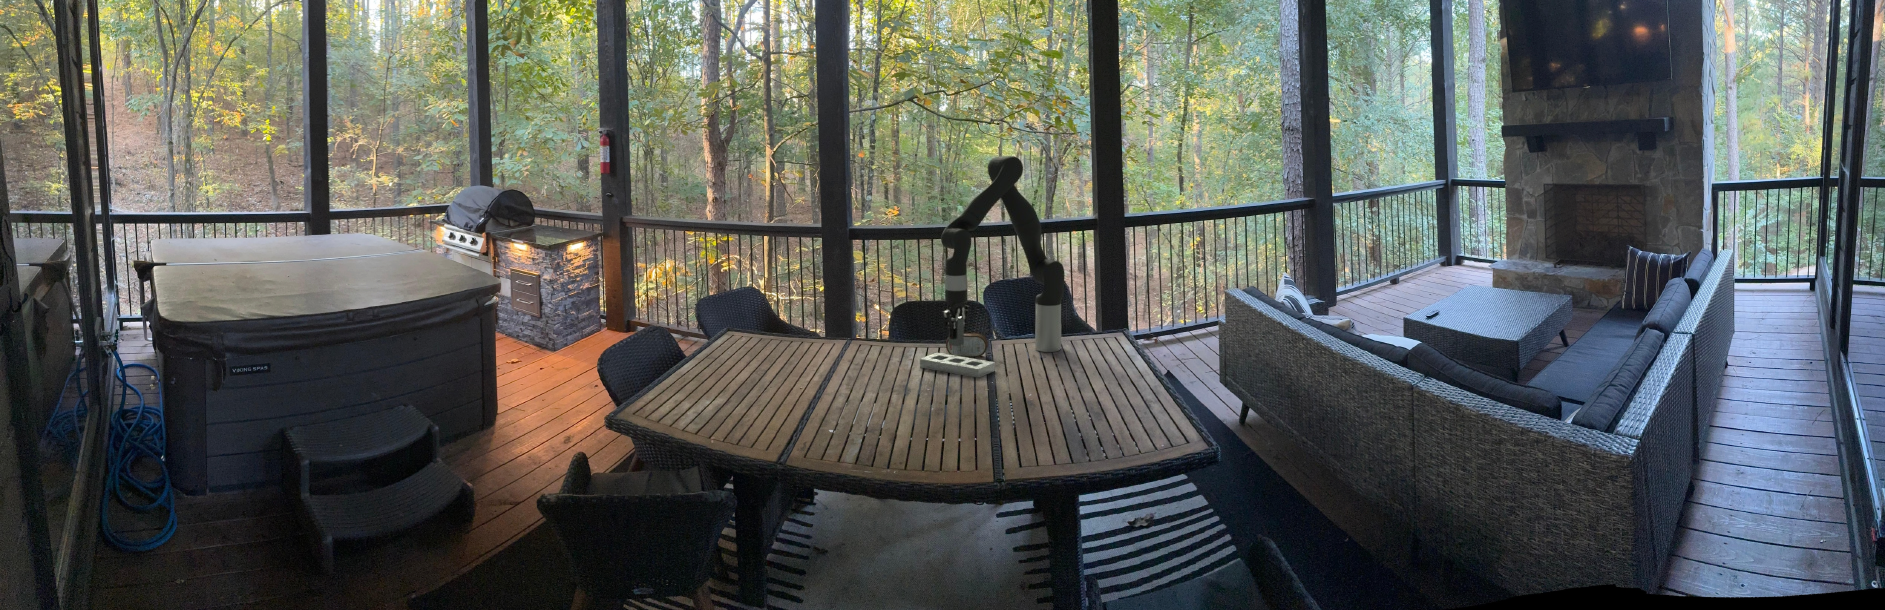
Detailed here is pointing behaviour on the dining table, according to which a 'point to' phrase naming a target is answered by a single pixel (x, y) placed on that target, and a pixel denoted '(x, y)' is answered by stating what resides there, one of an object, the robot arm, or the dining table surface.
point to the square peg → (958, 333)
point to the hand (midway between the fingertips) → (956, 337)
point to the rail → (957, 365)
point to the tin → (969, 346)
